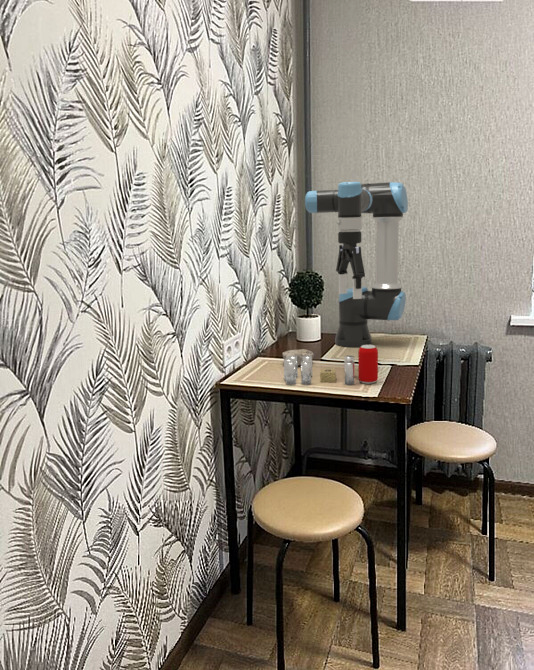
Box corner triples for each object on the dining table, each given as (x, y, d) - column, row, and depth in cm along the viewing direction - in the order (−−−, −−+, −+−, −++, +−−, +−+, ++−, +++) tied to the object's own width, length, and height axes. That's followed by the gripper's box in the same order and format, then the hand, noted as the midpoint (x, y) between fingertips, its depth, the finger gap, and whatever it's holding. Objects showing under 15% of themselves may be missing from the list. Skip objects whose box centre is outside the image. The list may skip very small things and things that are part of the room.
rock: (282, 369, 221) (282, 353, 220) (284, 361, 232) (283, 346, 230) (313, 368, 220) (313, 352, 219) (313, 360, 231) (313, 345, 230)
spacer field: (285, 375, 211) (285, 355, 210) (369, 375, 208) (369, 355, 206) (282, 384, 201) (282, 363, 199) (370, 385, 197) (370, 363, 196)
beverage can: (357, 379, 204) (357, 344, 201) (376, 379, 203) (376, 343, 201) (359, 384, 198) (359, 348, 195) (379, 384, 197) (379, 348, 195)
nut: (320, 378, 207) (320, 368, 206) (335, 378, 206) (335, 368, 206) (320, 382, 202) (320, 372, 201) (335, 382, 201) (335, 372, 201)
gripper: (326, 230, 211) (327, 292, 215) (352, 232, 187) (352, 301, 191) (347, 229, 212) (347, 290, 216) (375, 231, 188) (375, 300, 193)
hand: (349, 296), depth 204 cm, fingers open, 13 cm apart
